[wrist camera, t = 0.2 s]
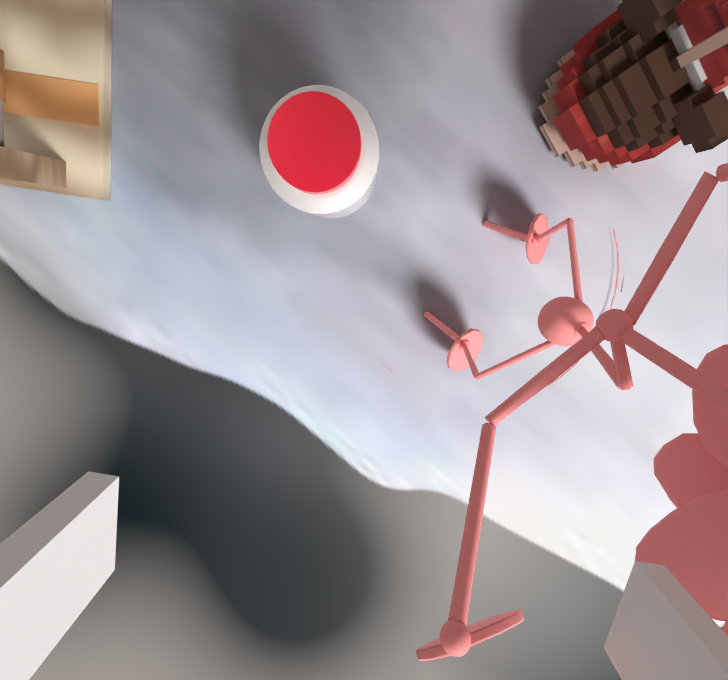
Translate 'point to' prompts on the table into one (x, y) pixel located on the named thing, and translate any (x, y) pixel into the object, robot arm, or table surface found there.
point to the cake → (641, 84)
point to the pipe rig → (56, 96)
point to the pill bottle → (320, 151)
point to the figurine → (573, 327)
